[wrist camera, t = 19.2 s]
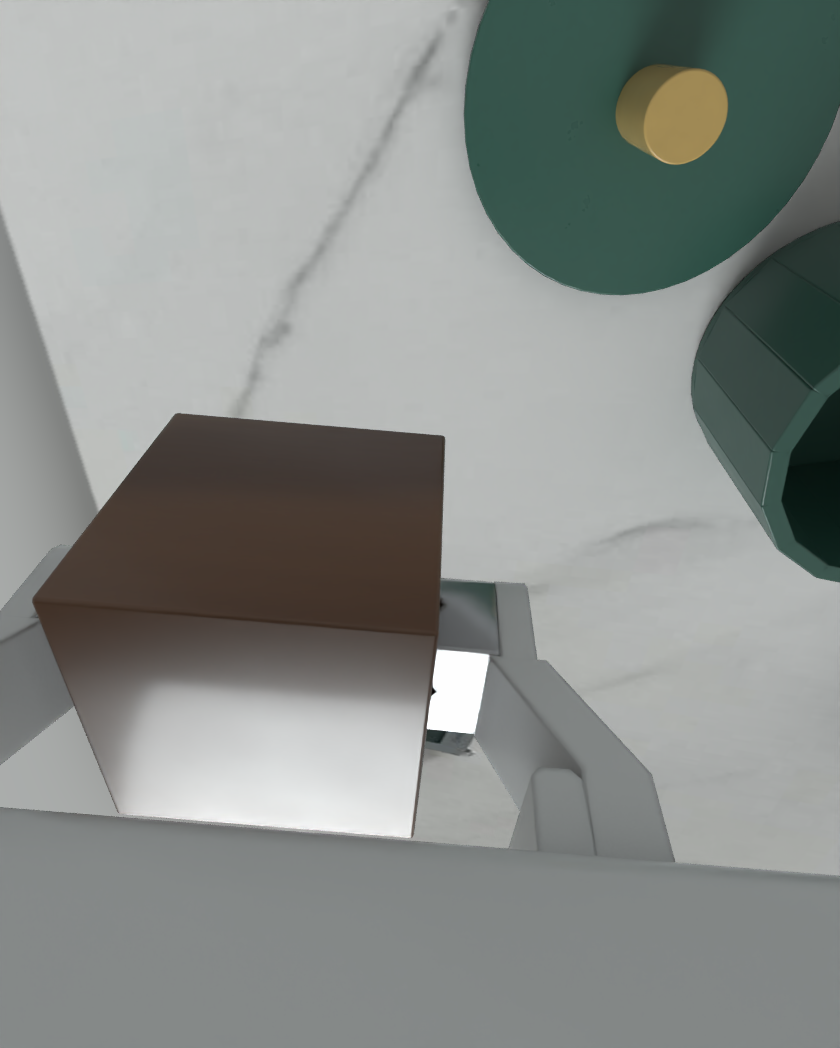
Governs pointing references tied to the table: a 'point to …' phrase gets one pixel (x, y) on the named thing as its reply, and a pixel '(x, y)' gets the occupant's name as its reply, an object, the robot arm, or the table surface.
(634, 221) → the tin lid
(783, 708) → the table surface
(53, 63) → the table surface
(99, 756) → the block
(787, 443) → the tin
